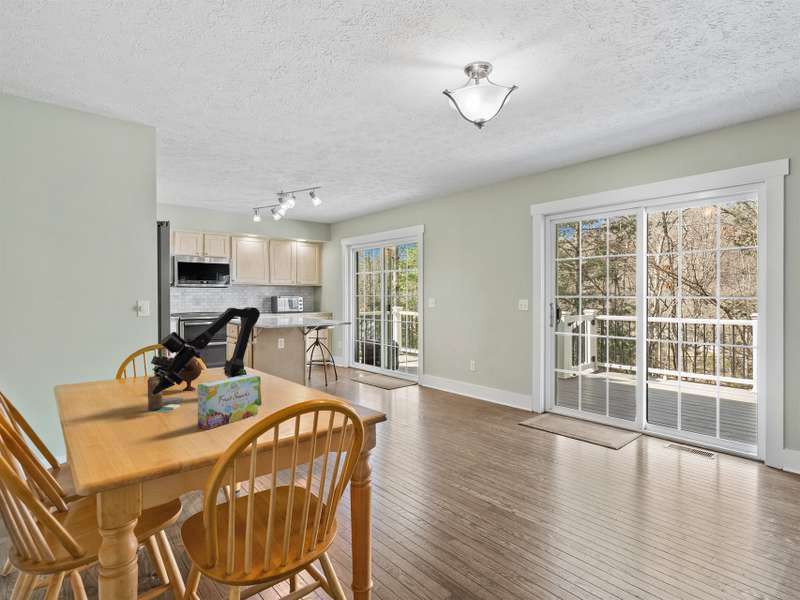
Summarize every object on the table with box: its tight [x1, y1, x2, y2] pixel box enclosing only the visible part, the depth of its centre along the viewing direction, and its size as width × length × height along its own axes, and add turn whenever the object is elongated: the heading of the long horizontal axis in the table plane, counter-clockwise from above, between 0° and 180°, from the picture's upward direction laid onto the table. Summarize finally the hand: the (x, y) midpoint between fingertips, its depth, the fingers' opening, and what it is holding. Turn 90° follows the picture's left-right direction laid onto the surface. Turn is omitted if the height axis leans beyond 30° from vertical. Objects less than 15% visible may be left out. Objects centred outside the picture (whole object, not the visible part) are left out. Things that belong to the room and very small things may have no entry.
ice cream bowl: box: [178, 358, 202, 392], centre depth 201 cm, size 11×11×15 cm
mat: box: [144, 404, 181, 414], centre depth 169 cm, size 10×8×1 cm
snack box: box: [197, 373, 259, 431], centre depth 154 cm, size 21×6×15 cm, turn 148°
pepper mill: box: [146, 375, 164, 410], centre depth 168 cm, size 5×5×12 cm
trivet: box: [162, 396, 185, 406], centre depth 181 cm, size 11×11×1 cm
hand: (151, 392), depth 167 cm, fingers closed on pepper mill, 5 cm apart
